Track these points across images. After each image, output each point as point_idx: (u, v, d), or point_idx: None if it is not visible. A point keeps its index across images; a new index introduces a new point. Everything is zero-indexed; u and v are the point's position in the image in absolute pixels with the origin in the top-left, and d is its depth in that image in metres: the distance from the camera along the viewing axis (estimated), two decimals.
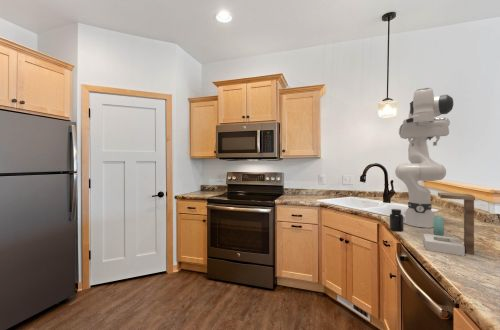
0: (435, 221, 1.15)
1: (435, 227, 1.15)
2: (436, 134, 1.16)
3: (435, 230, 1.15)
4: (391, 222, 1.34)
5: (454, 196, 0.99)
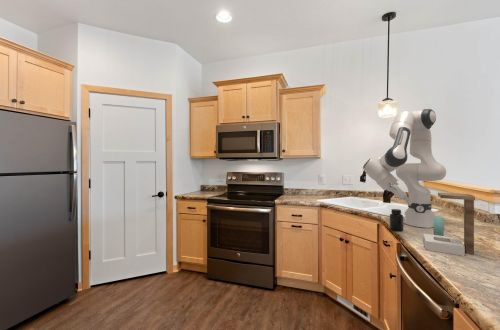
0: (435, 221, 1.15)
1: (435, 227, 1.15)
2: None
3: (435, 230, 1.15)
4: (391, 222, 1.34)
5: (454, 196, 0.99)
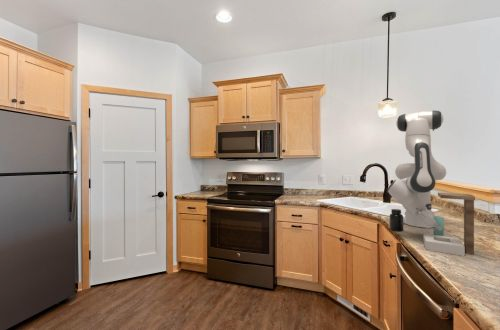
0: None
1: None
2: None
3: (435, 230, 1.15)
4: (391, 222, 1.34)
5: (454, 196, 0.99)
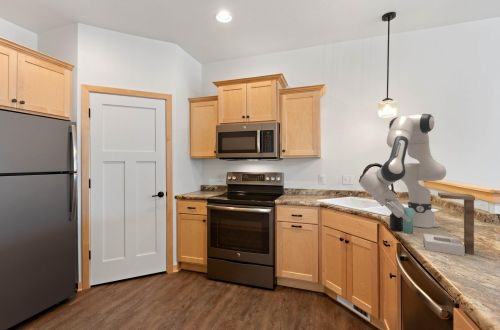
0: (405, 212, 1.12)
1: None
2: None
3: (405, 222, 1.12)
4: (391, 222, 1.34)
5: (454, 196, 0.99)
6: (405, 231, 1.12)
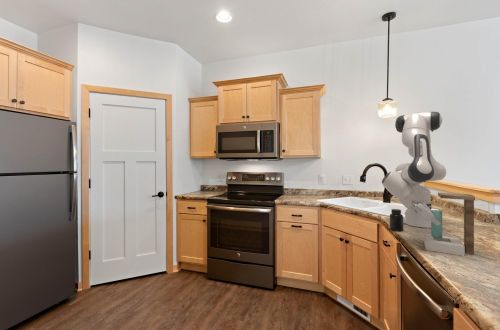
0: None
1: None
2: None
3: (433, 225, 1.06)
4: (391, 222, 1.34)
5: (454, 196, 0.99)
6: (433, 235, 1.06)
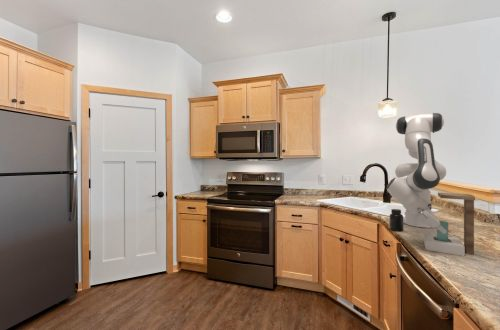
0: None
1: (438, 233, 1.05)
2: None
3: (438, 236, 1.05)
4: (391, 222, 1.34)
5: (454, 196, 0.99)
6: None
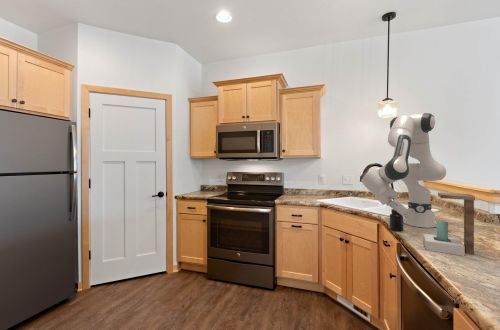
0: (438, 226, 1.05)
1: (438, 233, 1.05)
2: (399, 213, 1.10)
3: (438, 236, 1.05)
4: (391, 222, 1.34)
5: (454, 196, 0.99)
6: None
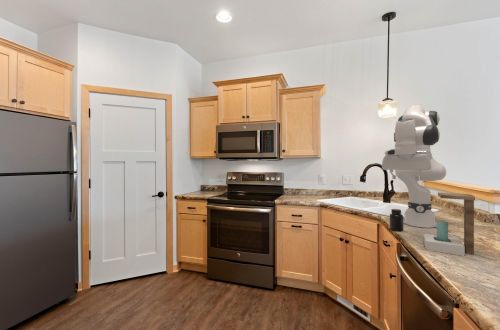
0: (438, 226, 1.05)
1: (438, 233, 1.05)
2: (418, 168, 1.11)
3: (438, 236, 1.05)
4: (391, 222, 1.34)
5: (454, 196, 0.99)
6: None
